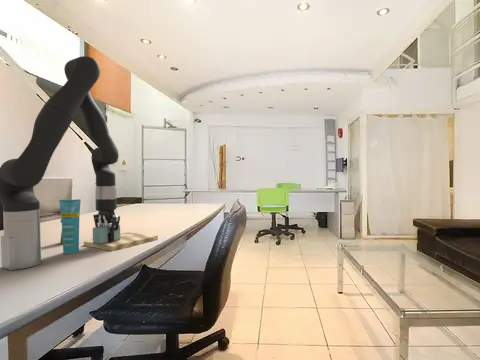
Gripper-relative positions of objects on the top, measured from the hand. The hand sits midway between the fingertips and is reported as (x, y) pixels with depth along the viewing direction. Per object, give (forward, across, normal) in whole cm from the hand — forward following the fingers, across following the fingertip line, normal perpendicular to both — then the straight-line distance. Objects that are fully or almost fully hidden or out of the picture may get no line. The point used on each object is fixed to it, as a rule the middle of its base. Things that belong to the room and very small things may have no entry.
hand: (107, 240), depth 119 cm
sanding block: (0, 0, 0) cm, 0 cm away
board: (+2, 0, +7) cm, 7 cm away
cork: (+2, -20, -4) cm, 21 cm away
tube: (+2, -2, -13) cm, 13 cm away
